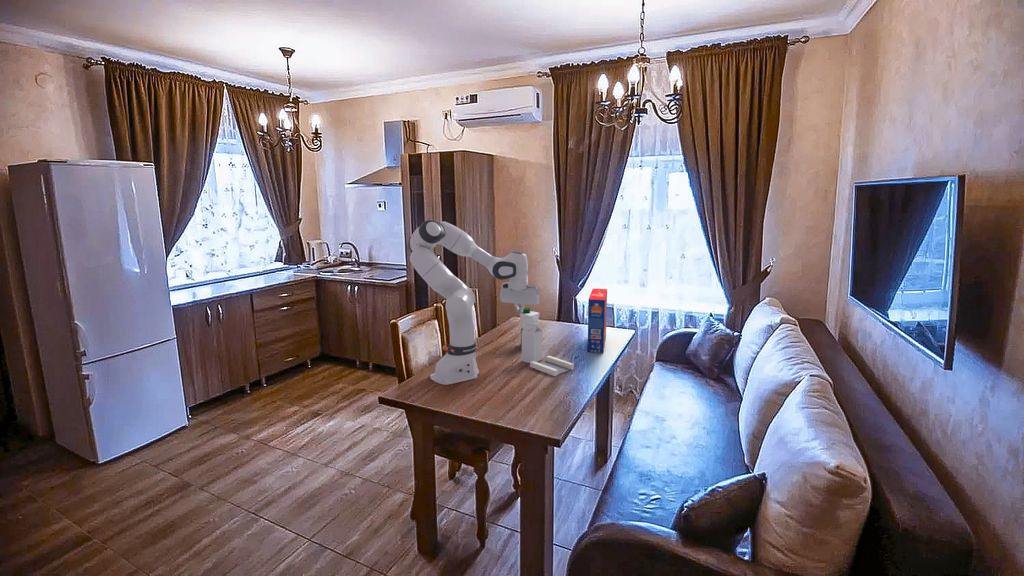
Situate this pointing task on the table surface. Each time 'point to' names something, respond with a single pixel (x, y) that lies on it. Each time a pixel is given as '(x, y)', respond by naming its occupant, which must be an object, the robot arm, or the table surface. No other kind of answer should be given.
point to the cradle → (553, 366)
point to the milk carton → (531, 343)
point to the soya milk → (528, 318)
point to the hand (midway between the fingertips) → (519, 312)
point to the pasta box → (597, 320)
